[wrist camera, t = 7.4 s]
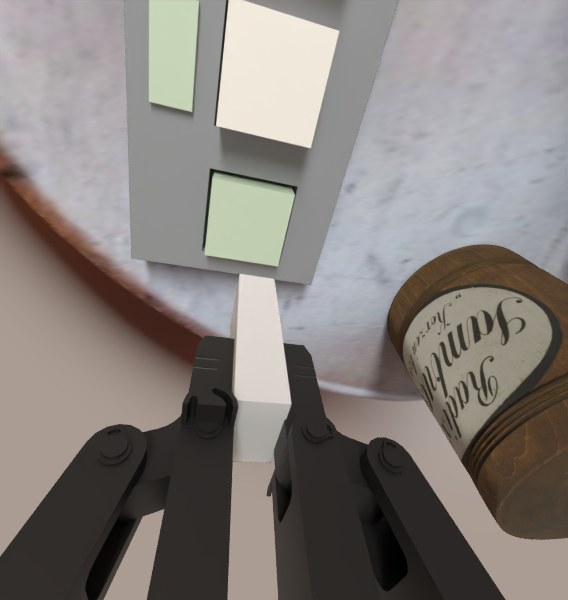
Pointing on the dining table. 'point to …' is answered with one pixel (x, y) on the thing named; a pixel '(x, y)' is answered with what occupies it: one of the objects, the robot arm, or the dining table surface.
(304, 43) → the off-white key
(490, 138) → the dining table surface
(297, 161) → the console
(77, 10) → the dining table surface
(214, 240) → the sage green key
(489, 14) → the dining table surface
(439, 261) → the wooden container
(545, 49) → the dining table surface
